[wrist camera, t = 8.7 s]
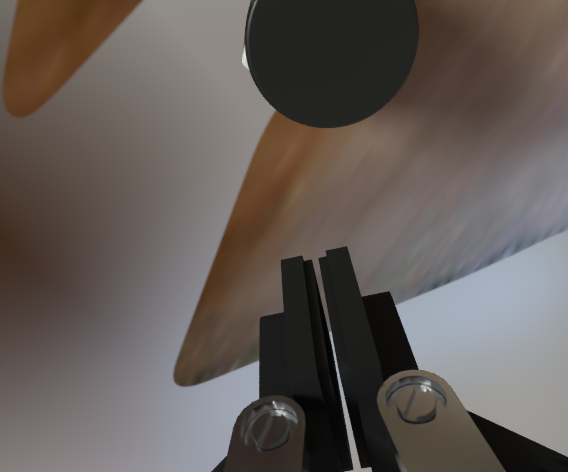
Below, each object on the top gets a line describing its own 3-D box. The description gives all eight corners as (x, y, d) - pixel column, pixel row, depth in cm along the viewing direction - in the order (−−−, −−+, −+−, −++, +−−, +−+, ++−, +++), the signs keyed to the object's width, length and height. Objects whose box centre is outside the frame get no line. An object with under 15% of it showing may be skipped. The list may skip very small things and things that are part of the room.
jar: (398, 13, 33) (462, 42, 23) (314, 103, 36) (337, 165, 26) (302, -95, 30) (326, -118, 20) (217, 13, 33) (200, 43, 23)
